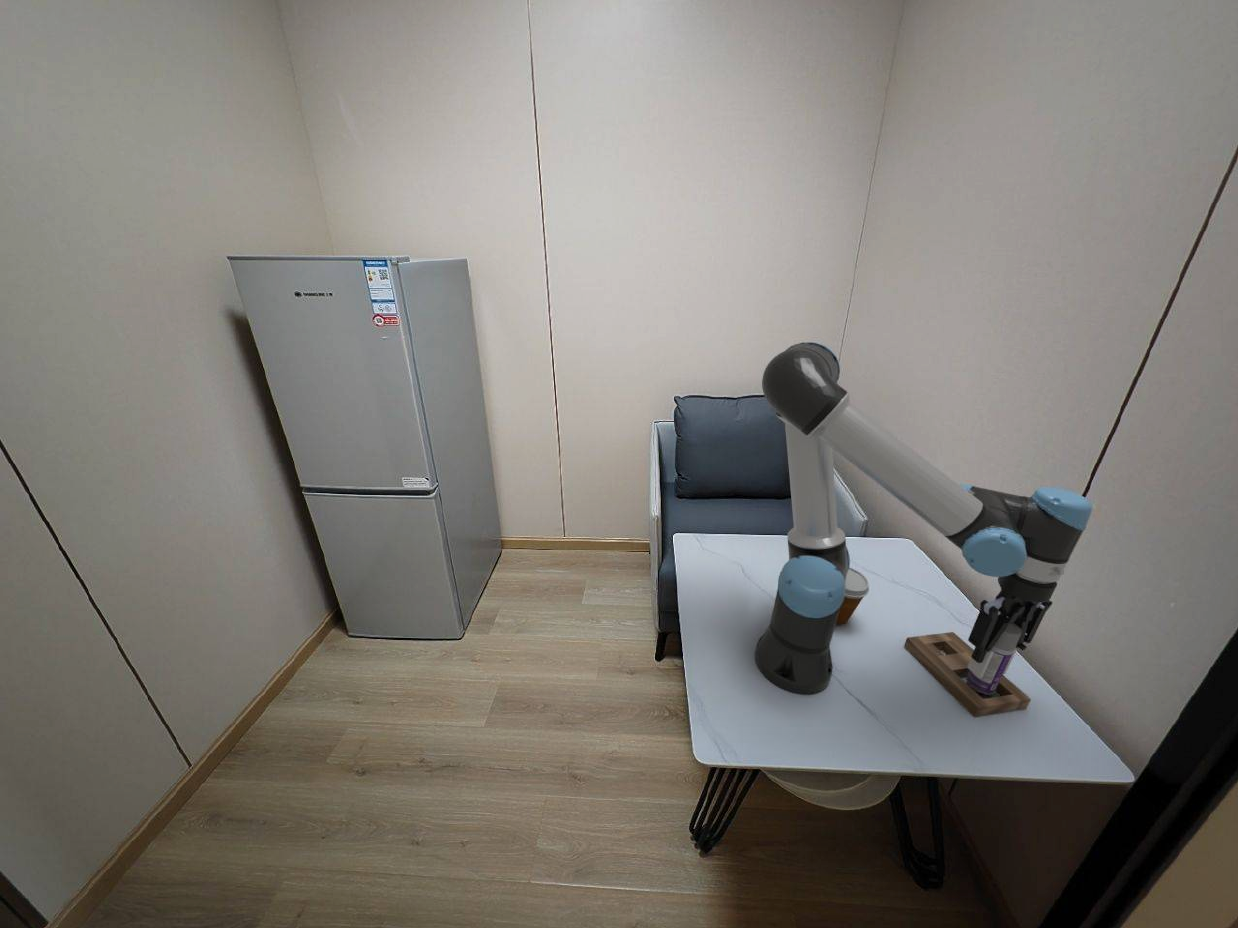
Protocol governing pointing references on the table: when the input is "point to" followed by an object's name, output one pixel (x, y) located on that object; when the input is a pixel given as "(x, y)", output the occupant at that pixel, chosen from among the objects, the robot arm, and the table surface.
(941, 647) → the socket board
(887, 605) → the table surface
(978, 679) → the container
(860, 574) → the disposable coffee cup
